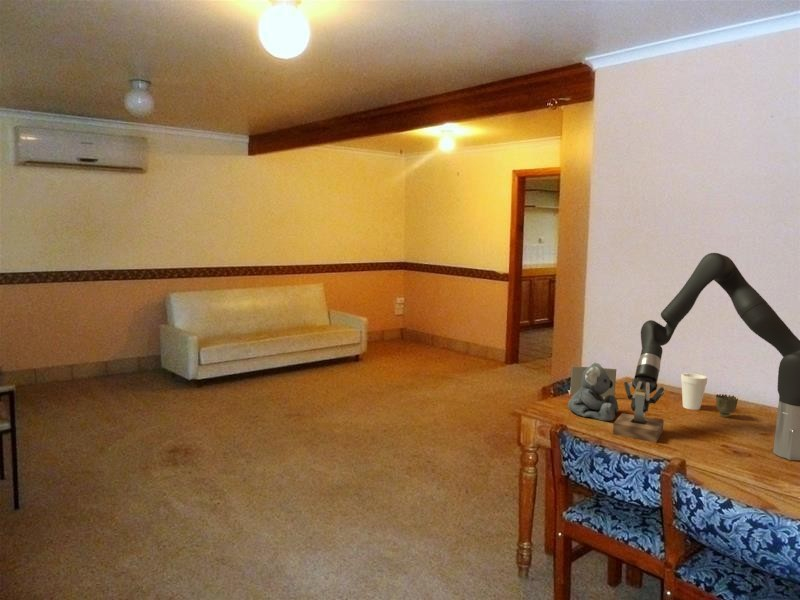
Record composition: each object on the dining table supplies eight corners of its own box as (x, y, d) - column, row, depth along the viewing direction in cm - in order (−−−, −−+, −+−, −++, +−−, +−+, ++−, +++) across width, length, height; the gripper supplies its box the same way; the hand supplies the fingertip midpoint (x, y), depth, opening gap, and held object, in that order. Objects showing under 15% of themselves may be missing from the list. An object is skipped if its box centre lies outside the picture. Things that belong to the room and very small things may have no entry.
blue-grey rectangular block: (644, 423, 214) (646, 390, 212) (642, 426, 212) (644, 392, 209) (635, 421, 216) (637, 388, 213) (633, 424, 213) (635, 391, 211)
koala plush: (613, 423, 223) (618, 371, 221) (563, 416, 231) (566, 364, 228) (618, 411, 239) (622, 362, 237) (571, 404, 246) (574, 356, 244)
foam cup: (689, 411, 242) (692, 379, 241) (673, 404, 251) (676, 373, 250) (709, 410, 245) (712, 378, 243) (692, 403, 254) (695, 372, 252)
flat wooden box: (662, 431, 216) (663, 420, 216) (656, 442, 204) (657, 430, 204) (621, 423, 223) (622, 413, 223) (612, 434, 211) (613, 422, 211)
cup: (738, 420, 233) (740, 399, 232) (717, 418, 234) (719, 397, 233) (732, 414, 240) (734, 394, 239) (711, 412, 241) (713, 392, 240)
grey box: (609, 392, 269) (611, 362, 268) (614, 399, 257) (616, 369, 255) (567, 388, 272) (569, 359, 271) (569, 396, 260) (571, 366, 258)
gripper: (626, 360, 221) (616, 401, 212) (668, 366, 214) (660, 408, 205) (628, 372, 226) (618, 412, 217) (669, 378, 219) (661, 420, 210)
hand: (638, 410), depth 211 cm, fingers closed on blue-grey rectangular block, 3 cm apart
